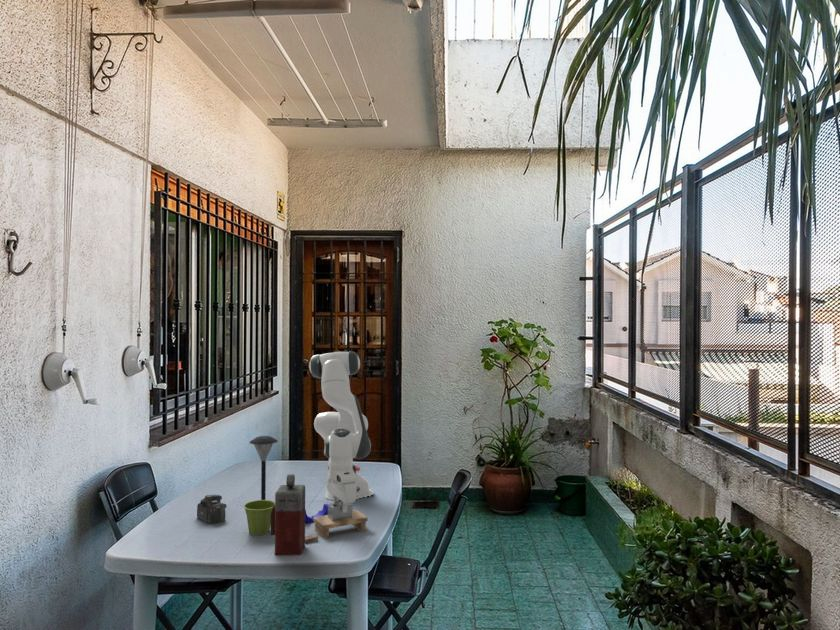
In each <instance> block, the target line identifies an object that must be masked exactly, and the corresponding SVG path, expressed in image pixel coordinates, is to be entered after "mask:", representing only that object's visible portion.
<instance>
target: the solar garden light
mask: <svg viewBox="0 0 840 630" xmlns="http://www.w3.org/2000/svg"><path fill="white" fill-rule="evenodd" d="M278 442H279V440H278V439H276V438H274V437H273V436H270V435H261V436H256V437H255V438H252V439H251V440H249V442H248V443H249V444H251V445H254V448H255V450H256V452H257V455H258V457H259V459H260V460H261V474H260V475H261V476H260V477H261V479H260V482H261V484H260V485H261V489H260V491H261V492H260V493H261V494H260V495H261V496H260V498H261V499H260V500H266V491H267V490H266V488H267V487H266V485H267V483H266V479H267V477H266V475H267V473H266V469H267V468H266V466H267V465H266V462H267V458H268V456H269V454H270V451H271V449H272V447H273V445H274V444H275V443H278Z"/></svg>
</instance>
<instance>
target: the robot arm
mask: <svg viewBox="0 0 840 630" xmlns="http://www.w3.org/2000/svg"><path fill="white" fill-rule="evenodd" d="M308 368H309V372H310V374H311V376H312V377H313V378H315V379H321V385H320V386H321V394H322V398H323V400H324V401H325V402H326V403H327V404H328V405H329V406H330V407H332V408H333V409H335V410H336V411H325V412H320V413H318V414H317V415H316V417H315V418H314V420H313V421H314V422H313V426H314V430H315V432H316V433H318V435H320V436H321V438H322V439H323V440H324V441H323V443H324V444H323V445H324V449H323V455H324V456H325V457H326V458H327V459H328V466H327V478H326V479H327V481H326V490H325V491H326V492H325V494H324V495H325V496H324V498H325V499H326V500H330V501H333V502H342V503H343V506H342V507H341V509H342V510H341V511H342V512H347V507H348V505H349V504H355V502H356V501H357V500H359V499H358V498H361V499H363V498H362V497H365V498H367V497H366V496H369V497H372V496H371V495H373V494H374V493H375V492H374V491H373V490H372V489H371V488H369V483H368V481H367V479H365V478H364V477H363V476H362V475H361V474H359V473H358V472H360V470H361V467H359V466H356V465H354V464H353V463H354V462H353V461H354V460H353V459H356V460H360V459H361V460H364V459H366V457H367V456H368V455H370V453H371V451H372V450H371V448H372V444H371V440H370V437H369V434H368V429H369V421H368V418H367V416H366V415H364V414H363V412H362V408H361V405H360V402H359V400H358V397H357V396H356V395H355V394H353V393H352V392H351V385H350V377H349V376H353V375H356V374H357V373H358V372H359V371H360V368H361V360H360V357H359V355H358V354H357V352H355V351H353V350H351V351H350V350H349V351H333V352H327V353H322V354H319V353H318V354H314V355H312V356H311V358H310V360H309V363H308ZM373 496H374V495H373ZM356 499H357V500H356ZM339 500H341V501H339Z"/></svg>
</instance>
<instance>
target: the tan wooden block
mask: <svg viewBox="0 0 840 630" xmlns="http://www.w3.org/2000/svg"><path fill="white" fill-rule="evenodd" d="M318 541H319V537H318V535H316V534H315V533H314V534H310V535H305V544H308V543H312V542H318Z"/></svg>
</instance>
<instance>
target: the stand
mask: <svg viewBox="0 0 840 630" xmlns="http://www.w3.org/2000/svg"><path fill="white" fill-rule="evenodd" d="M367 522H368V516H366V515H365V514H364V513H362V512H361V511H359V510H358V509H354V510H353V509H352V518H348V519H342V520H337V521H332V520H330V519H329V518H328V515H324V516H319V517H313V522H312V523H314V532H316V533H317V534H318V535H319V536H321V537H322V538H324V539H325V538H330V529H334V528H335V529H336V528H339V527H345V526H350V525H351V526H352V525H353V527H354V528H355V527H356V528H355V529H356V530H358V529H359V532H364V530H365V531H367V526H366V524H367Z"/></svg>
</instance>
